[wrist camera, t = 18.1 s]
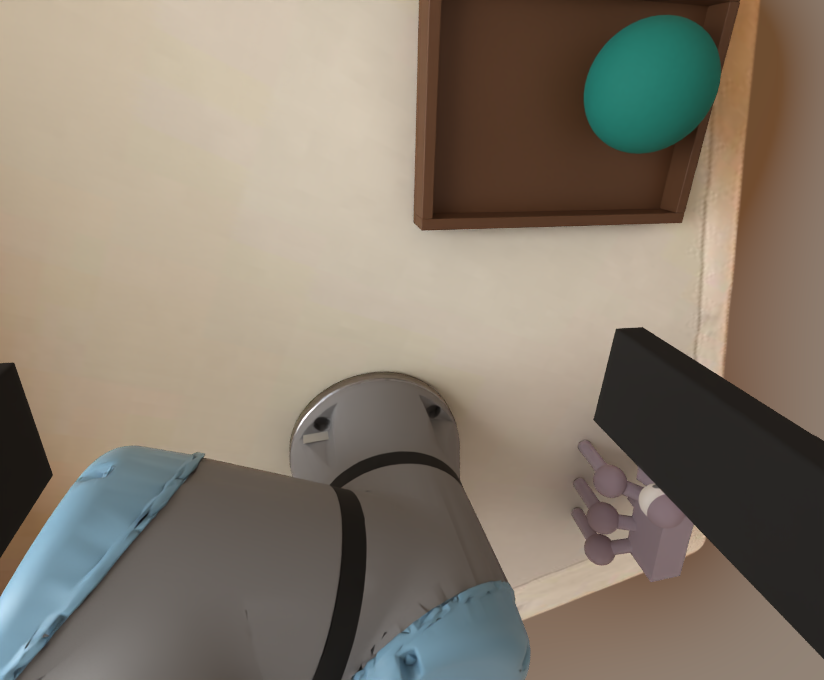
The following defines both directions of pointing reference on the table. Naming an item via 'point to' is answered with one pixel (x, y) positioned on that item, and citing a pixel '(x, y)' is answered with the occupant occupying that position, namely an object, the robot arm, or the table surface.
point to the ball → (652, 84)
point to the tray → (538, 117)
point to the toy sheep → (631, 520)
